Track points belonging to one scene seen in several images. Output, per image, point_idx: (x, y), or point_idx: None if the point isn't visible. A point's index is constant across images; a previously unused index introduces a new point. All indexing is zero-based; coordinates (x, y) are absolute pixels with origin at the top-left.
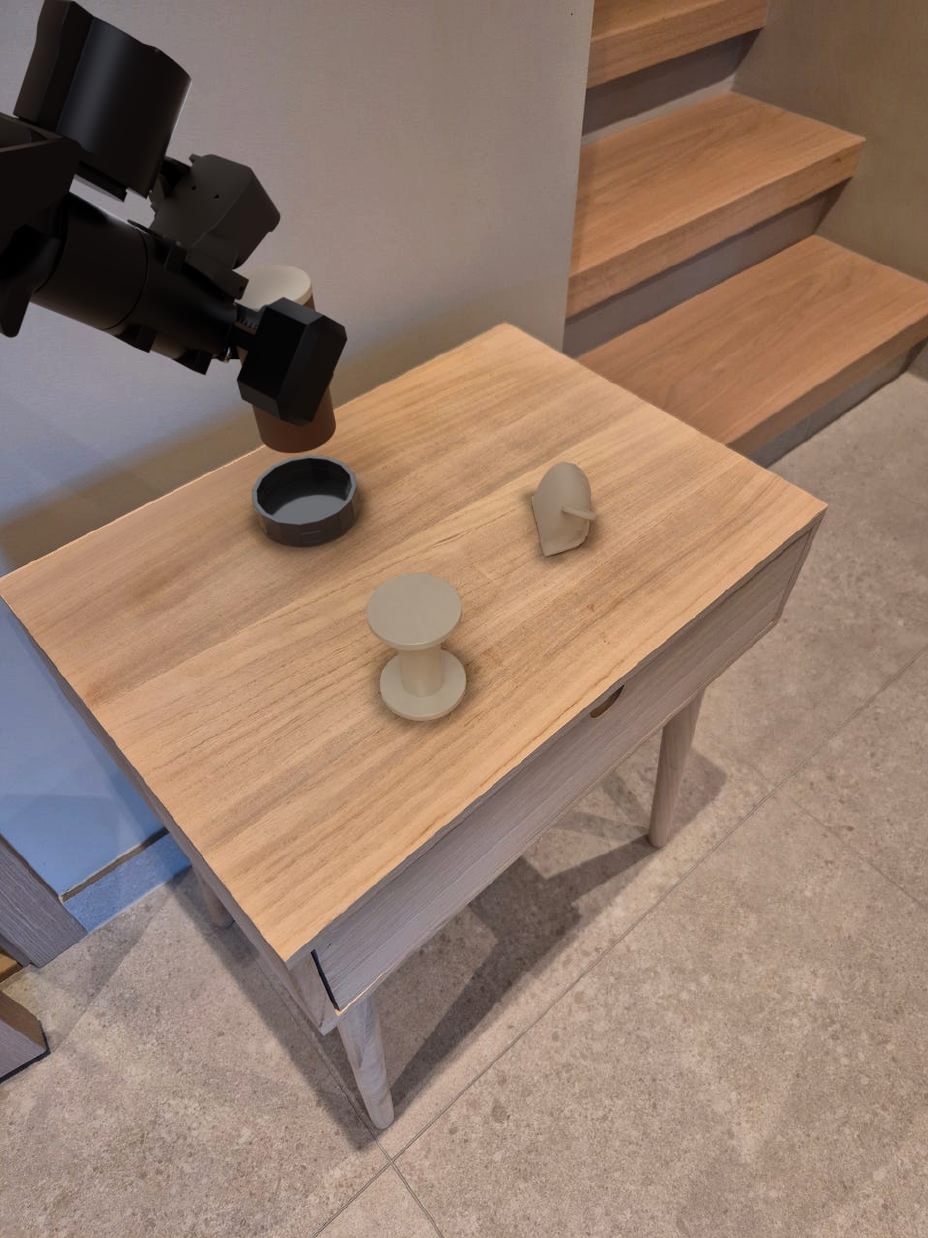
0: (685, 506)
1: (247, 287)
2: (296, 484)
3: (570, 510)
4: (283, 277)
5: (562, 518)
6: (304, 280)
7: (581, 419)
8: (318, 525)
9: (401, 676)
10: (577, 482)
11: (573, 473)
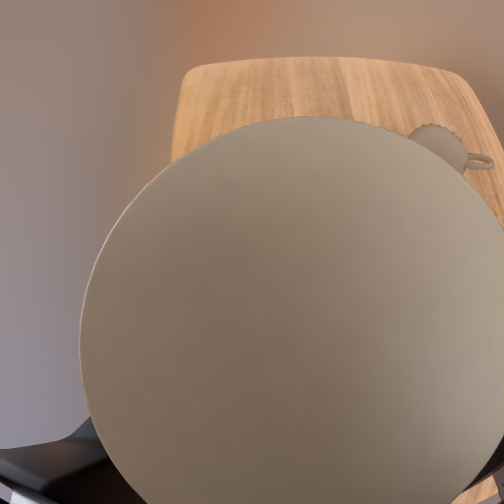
0: (441, 105)
1: (257, 449)
2: None
3: (484, 167)
4: (310, 223)
5: (464, 171)
6: (404, 160)
7: (324, 82)
8: None
9: None
10: (459, 139)
11: (451, 133)
